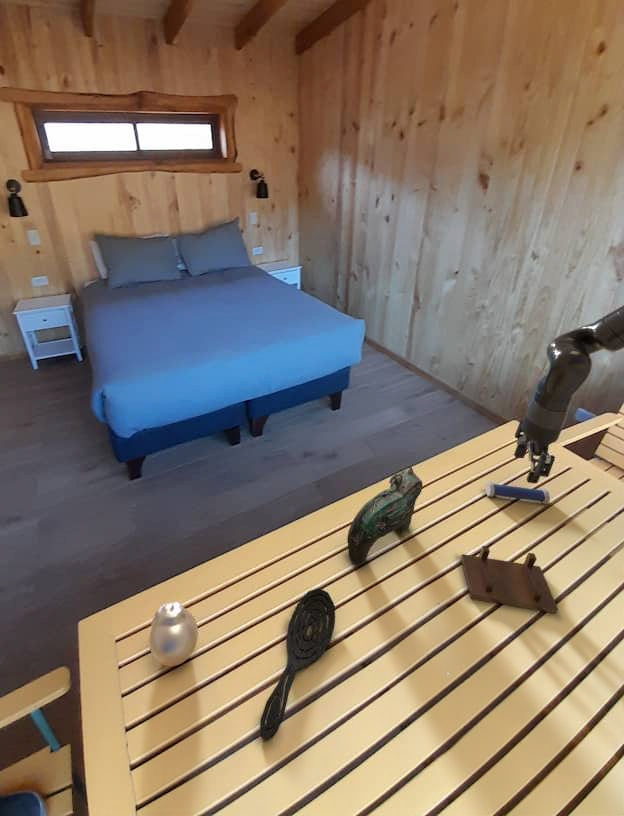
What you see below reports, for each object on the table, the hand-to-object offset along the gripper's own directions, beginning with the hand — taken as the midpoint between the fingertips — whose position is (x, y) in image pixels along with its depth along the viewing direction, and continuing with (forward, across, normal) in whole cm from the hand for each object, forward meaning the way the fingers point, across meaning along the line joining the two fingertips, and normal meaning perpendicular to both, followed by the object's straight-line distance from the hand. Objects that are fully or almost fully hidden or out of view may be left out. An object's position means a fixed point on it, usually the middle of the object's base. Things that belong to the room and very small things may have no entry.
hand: (524, 468), depth 101 cm
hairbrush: (+11, -47, +52) cm, 71 cm away
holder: (+10, -25, +10) cm, 29 cm away
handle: (+10, 0, 0) cm, 10 cm away
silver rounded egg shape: (+11, -49, +75) cm, 90 cm away
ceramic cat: (+11, -19, +35) cm, 41 cm away
